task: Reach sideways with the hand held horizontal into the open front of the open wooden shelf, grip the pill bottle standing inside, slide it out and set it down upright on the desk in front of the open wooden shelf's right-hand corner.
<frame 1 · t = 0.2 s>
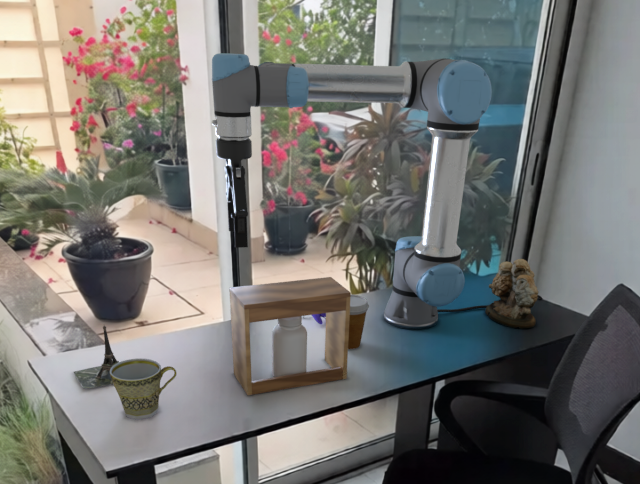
hand: (237, 238, 150), 28 cm above the table, tool pointing down, fingers open, 13 cm apart
disposable coffee cup: (348, 345, 170), on the table
owl figurine: (508, 318, 190), on the table
eiffel tower souvenir: (112, 376, 150), on the table
pill bottle: (289, 376, 153), resting in open wooden shelf
open wooden shelf: (290, 376, 153), on the table
game controller: (322, 321, 183), on the table
ceramic cup: (148, 411, 137), on the table
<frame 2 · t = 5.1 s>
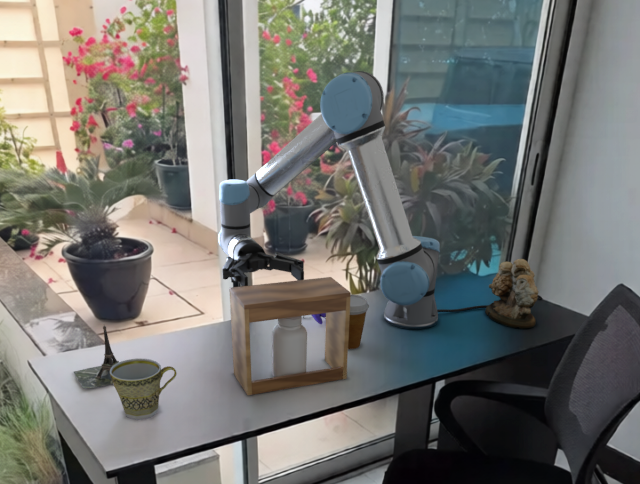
hand: (274, 280, 150), 20 cm above the table, tool horizontal, fingers open, 13 cm apart
nothing on the table moved.
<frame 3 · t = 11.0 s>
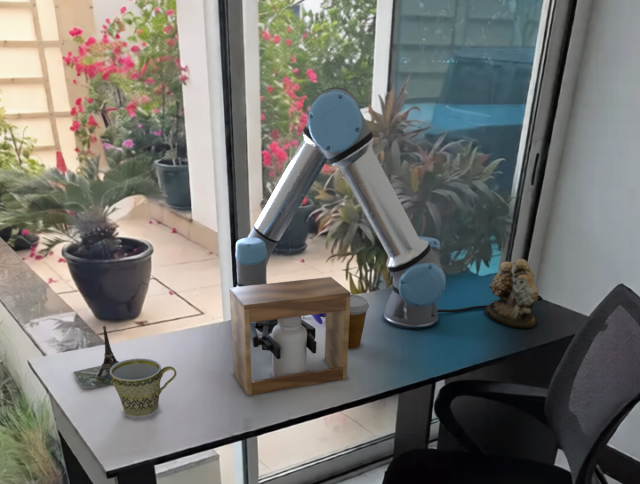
hand: (296, 350, 145), 9 cm above the table, tool horizontal, fingers closed on pill bottle, 8 cm apart
pill bottle: (289, 376, 153), resting in open wooden shelf, touching gripper
everything else where it was.
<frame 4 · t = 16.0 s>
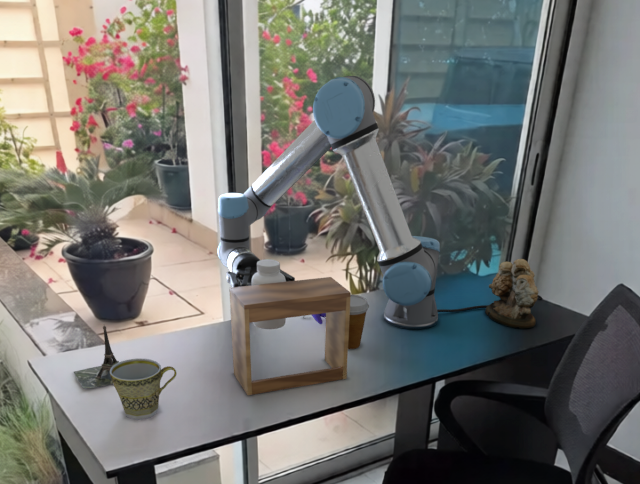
hand: (275, 296, 149), 17 cm above the table, tool horizontal, fingers closed on pill bottle, 8 cm apart
pill bottle: (269, 324, 158), point 8 cm above the table, touching gripper
everything else where it was.
when the fingers open (8 cm above the table, at t = 21.2 s): pill bottle stays where it is, on the table.
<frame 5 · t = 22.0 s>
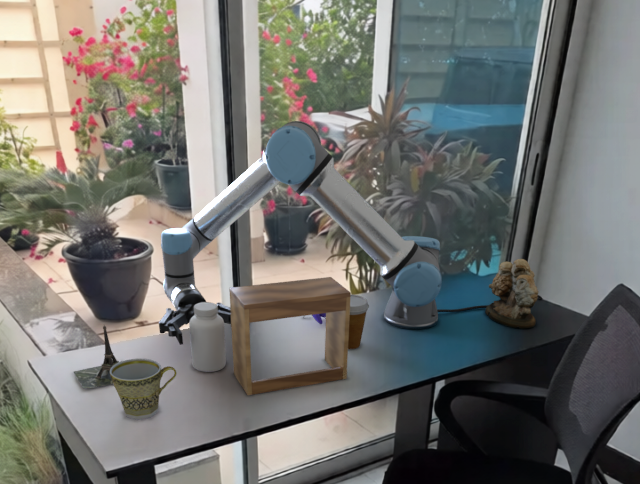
hand: (210, 335, 149), 9 cm above the table, tool horizontal, fingers open, 13 cm apart
pill bottle: (209, 366, 157), on the table
everything else where it was.
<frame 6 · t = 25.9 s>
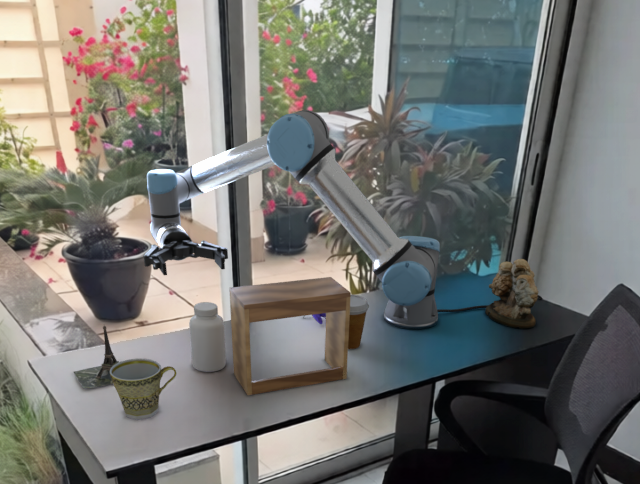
hand: (194, 266, 152), 21 cm above the table, tool horizontal, fingers open, 13 cm apart
nothing on the table moved.
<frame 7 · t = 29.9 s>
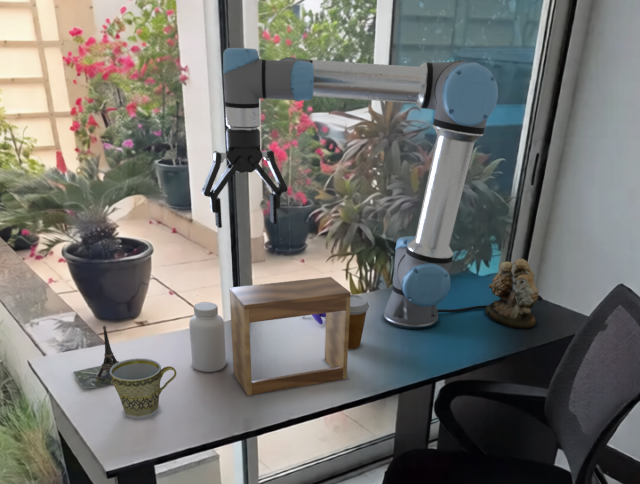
hand: (246, 224, 158), 29 cm above the table, tool pointing down, fingers open, 13 cm apart
nothing on the table moved.
at the end: pill bottle inside the target area (0.1 cm from its centre), on the table; pill bottle tilted 0°; the gripper is holding nothing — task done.
